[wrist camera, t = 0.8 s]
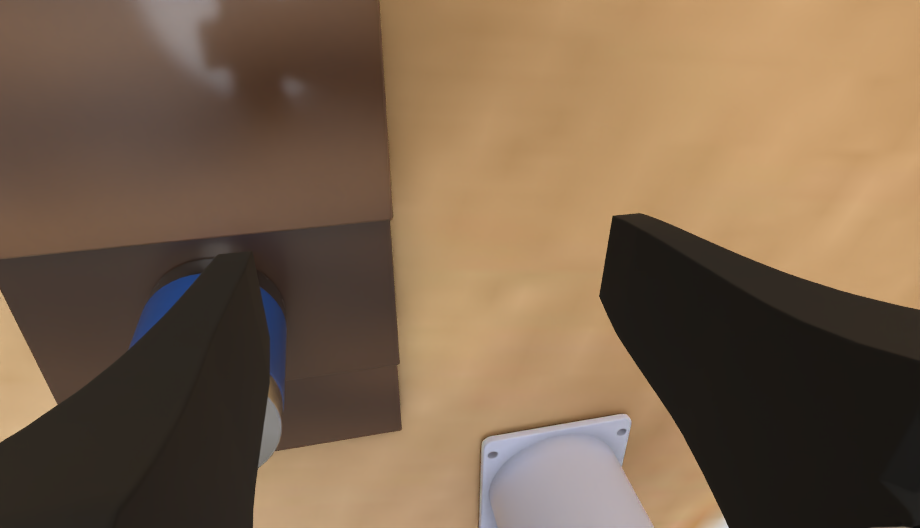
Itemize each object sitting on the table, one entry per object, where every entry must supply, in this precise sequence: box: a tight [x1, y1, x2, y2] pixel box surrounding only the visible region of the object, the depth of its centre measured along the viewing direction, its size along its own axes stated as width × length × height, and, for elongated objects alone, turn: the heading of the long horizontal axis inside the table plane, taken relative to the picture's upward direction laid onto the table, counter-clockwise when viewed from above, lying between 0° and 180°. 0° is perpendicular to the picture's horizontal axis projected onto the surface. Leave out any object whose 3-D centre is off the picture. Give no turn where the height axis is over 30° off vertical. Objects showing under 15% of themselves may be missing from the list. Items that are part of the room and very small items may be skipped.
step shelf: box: [0, 0, 402, 451], centre depth 20 cm, size 19×12×4 cm, turn 0°
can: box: [128, 258, 287, 468], centre depth 18 cm, size 4×4×5 cm
